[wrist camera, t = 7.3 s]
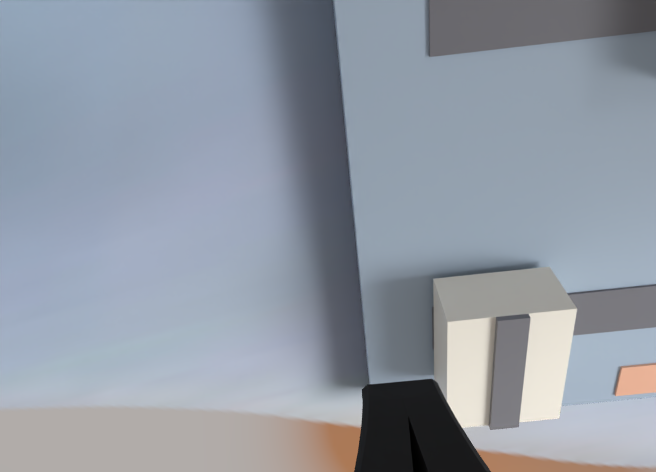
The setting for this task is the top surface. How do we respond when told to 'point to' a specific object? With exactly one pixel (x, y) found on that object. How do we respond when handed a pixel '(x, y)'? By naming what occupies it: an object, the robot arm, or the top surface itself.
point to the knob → (502, 345)
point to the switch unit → (505, 170)
